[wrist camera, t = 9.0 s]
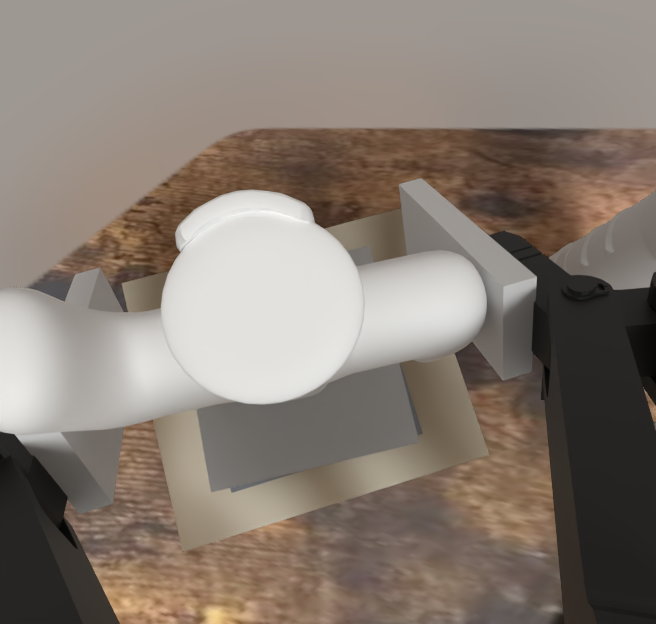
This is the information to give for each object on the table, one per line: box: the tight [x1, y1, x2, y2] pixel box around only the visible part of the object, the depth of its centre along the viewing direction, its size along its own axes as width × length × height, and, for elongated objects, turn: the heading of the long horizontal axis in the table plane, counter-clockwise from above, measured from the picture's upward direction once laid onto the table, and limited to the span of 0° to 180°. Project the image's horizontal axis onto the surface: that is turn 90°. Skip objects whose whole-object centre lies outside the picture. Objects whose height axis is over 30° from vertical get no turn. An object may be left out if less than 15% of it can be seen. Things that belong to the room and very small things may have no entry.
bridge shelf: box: [122, 208, 489, 552], centre depth 30 cm, size 16×14×8 cm
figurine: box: [0, 189, 487, 492], centre depth 14 cm, size 7×9×15 cm
